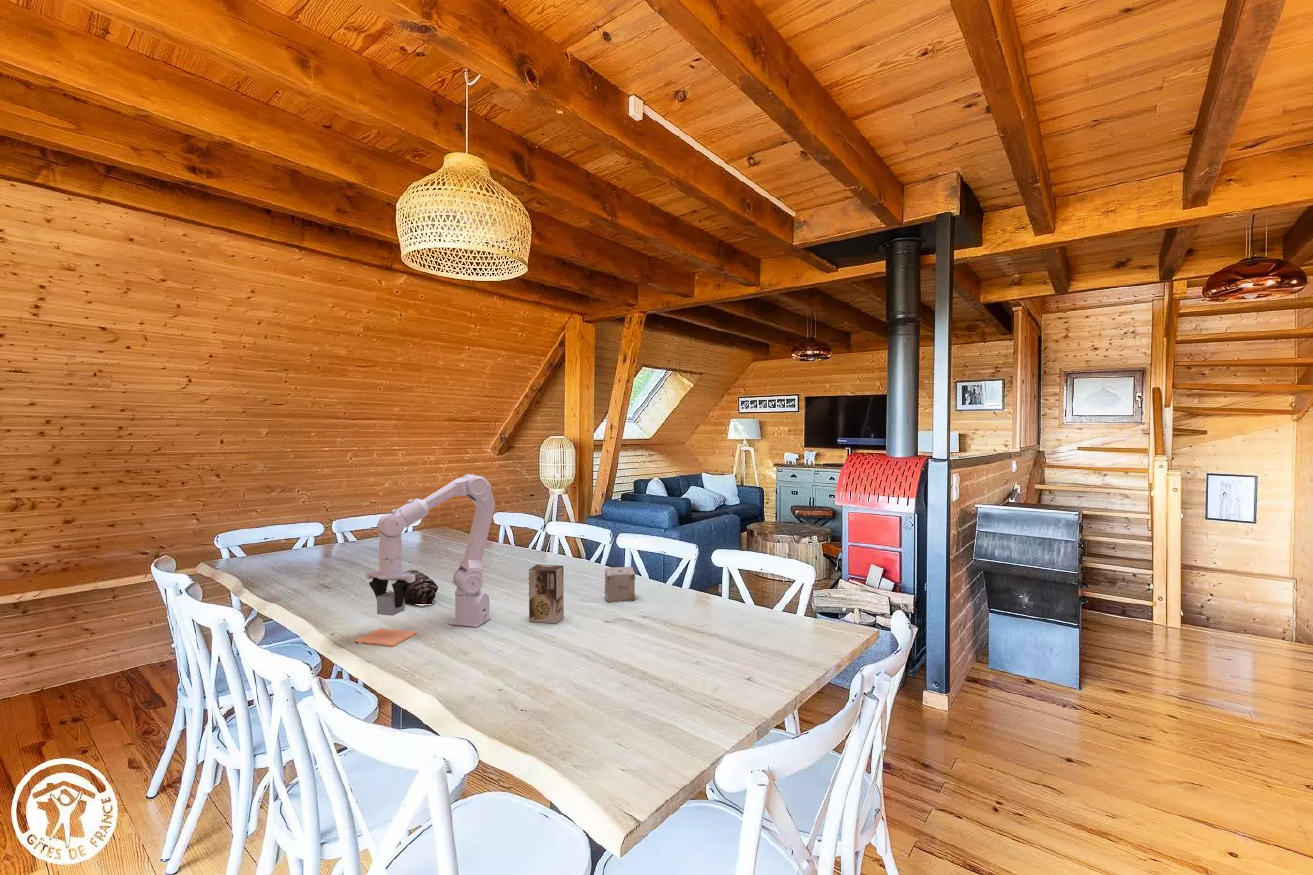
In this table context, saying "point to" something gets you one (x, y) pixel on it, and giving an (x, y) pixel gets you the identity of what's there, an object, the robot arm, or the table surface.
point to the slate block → (388, 604)
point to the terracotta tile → (386, 637)
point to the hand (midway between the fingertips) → (390, 606)
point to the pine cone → (420, 589)
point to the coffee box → (546, 594)
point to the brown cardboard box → (619, 584)
